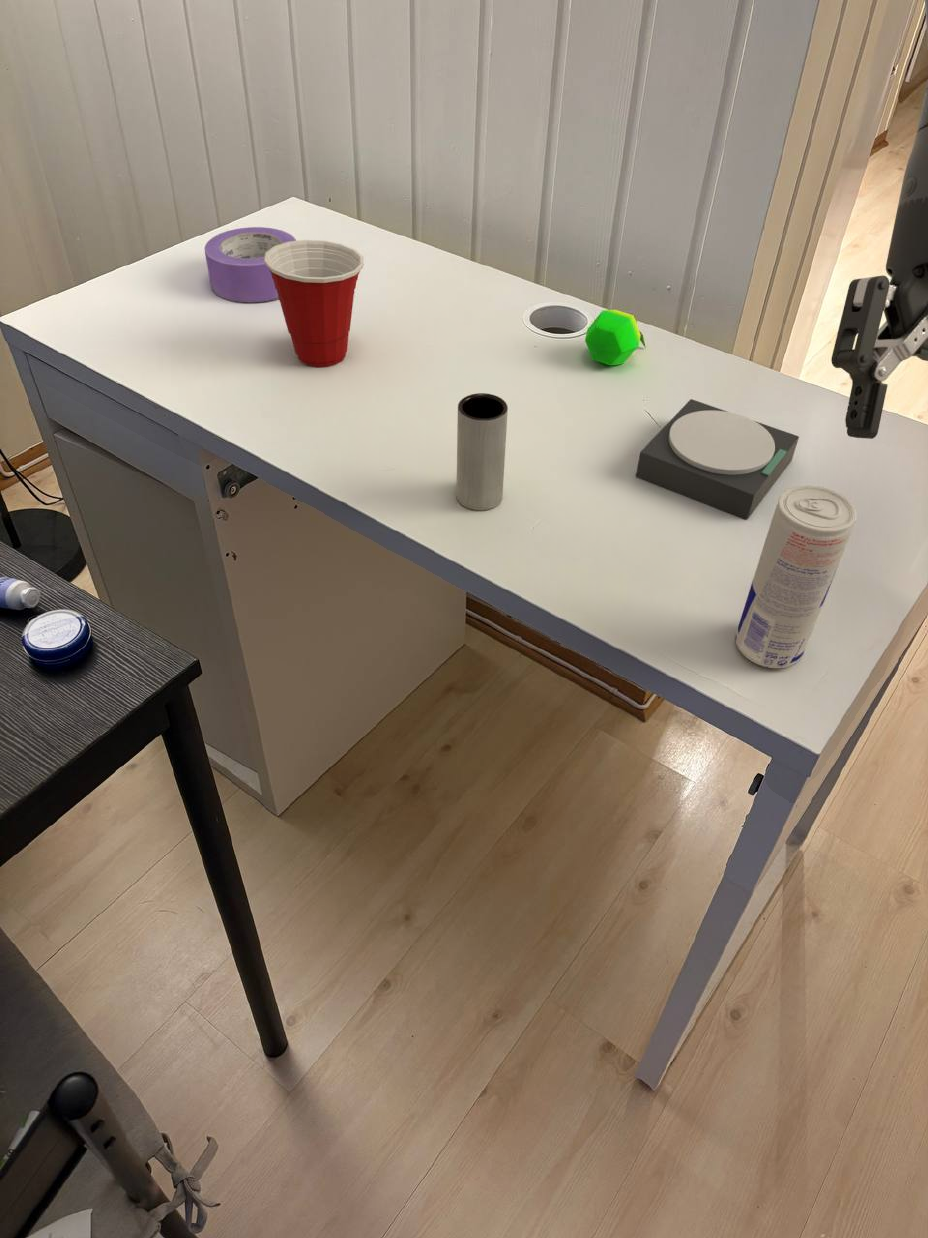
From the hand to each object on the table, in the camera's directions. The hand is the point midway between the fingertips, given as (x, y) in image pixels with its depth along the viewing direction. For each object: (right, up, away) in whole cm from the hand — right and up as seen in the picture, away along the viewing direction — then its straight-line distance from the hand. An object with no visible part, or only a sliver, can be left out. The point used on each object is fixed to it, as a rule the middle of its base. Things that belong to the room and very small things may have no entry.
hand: (906, 445), depth 68 cm
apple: (-14, +19, +45) cm, 51 cm away
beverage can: (-6, -15, +12) cm, 20 cm away
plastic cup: (-48, +19, +44) cm, 68 cm away
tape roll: (-59, +32, +57) cm, 88 cm away
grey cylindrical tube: (-30, -1, +26) cm, 40 cm away
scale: (-6, +3, +30) cm, 30 cm away
